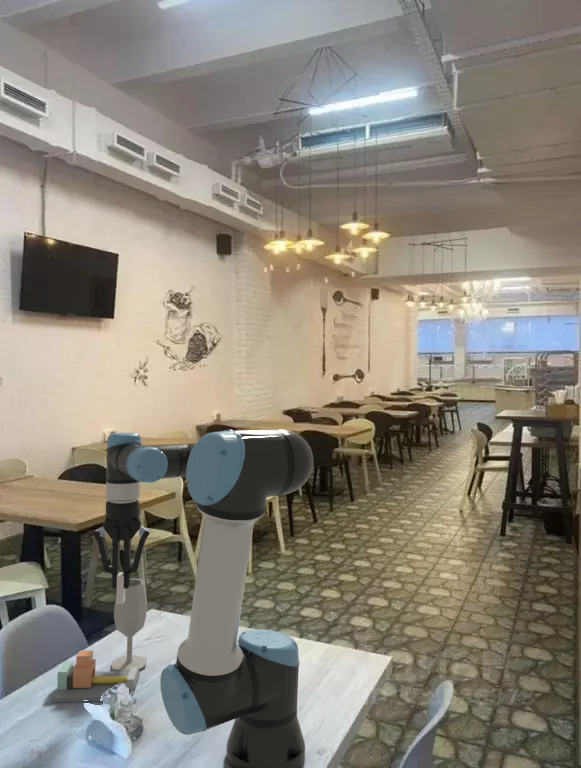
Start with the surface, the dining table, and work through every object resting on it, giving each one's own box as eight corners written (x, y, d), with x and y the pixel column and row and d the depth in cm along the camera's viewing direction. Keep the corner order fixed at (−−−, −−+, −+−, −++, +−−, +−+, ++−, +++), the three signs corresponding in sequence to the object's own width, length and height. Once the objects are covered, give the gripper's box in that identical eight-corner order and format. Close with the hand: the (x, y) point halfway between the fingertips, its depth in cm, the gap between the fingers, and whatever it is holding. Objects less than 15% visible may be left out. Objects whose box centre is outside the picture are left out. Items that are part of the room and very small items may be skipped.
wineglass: (151, 659, 159) (154, 577, 158) (140, 675, 150) (142, 589, 150) (118, 656, 160) (120, 575, 159) (105, 673, 151) (107, 586, 151)
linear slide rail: (131, 701, 138) (131, 678, 138) (52, 702, 137) (53, 679, 137) (139, 675, 150) (140, 654, 150) (67, 676, 149) (67, 655, 149)
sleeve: (90, 687, 141) (91, 657, 141) (72, 687, 141) (73, 658, 141) (95, 677, 146) (96, 648, 146) (77, 677, 145) (78, 649, 145)
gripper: (153, 497, 148) (151, 596, 148) (97, 496, 147) (95, 596, 147) (149, 503, 140) (147, 607, 140) (90, 503, 139) (88, 608, 139)
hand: (120, 602), depth 143 cm, fingers closed
